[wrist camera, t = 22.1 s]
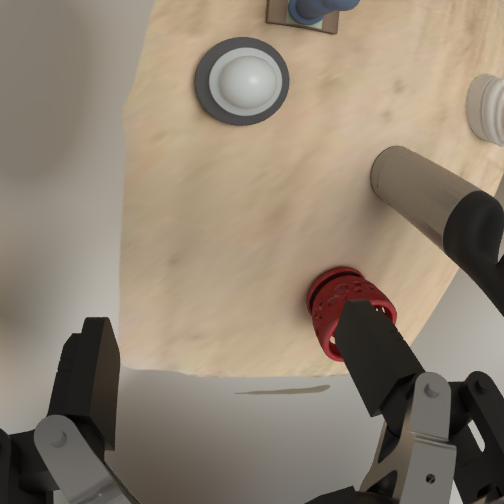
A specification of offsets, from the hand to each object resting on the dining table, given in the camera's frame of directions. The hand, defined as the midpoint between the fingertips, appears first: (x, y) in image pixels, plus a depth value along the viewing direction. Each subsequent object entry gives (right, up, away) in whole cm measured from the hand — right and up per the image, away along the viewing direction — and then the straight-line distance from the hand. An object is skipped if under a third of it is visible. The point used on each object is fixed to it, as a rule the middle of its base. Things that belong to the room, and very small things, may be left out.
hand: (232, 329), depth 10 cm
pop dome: (0, +22, +22) cm, 31 cm away
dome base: (-1, +23, +24) cm, 33 cm away
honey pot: (+44, +29, +30) cm, 61 cm away
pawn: (+7, +32, +19) cm, 38 cm away
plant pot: (+15, -4, +45) cm, 48 cm away
